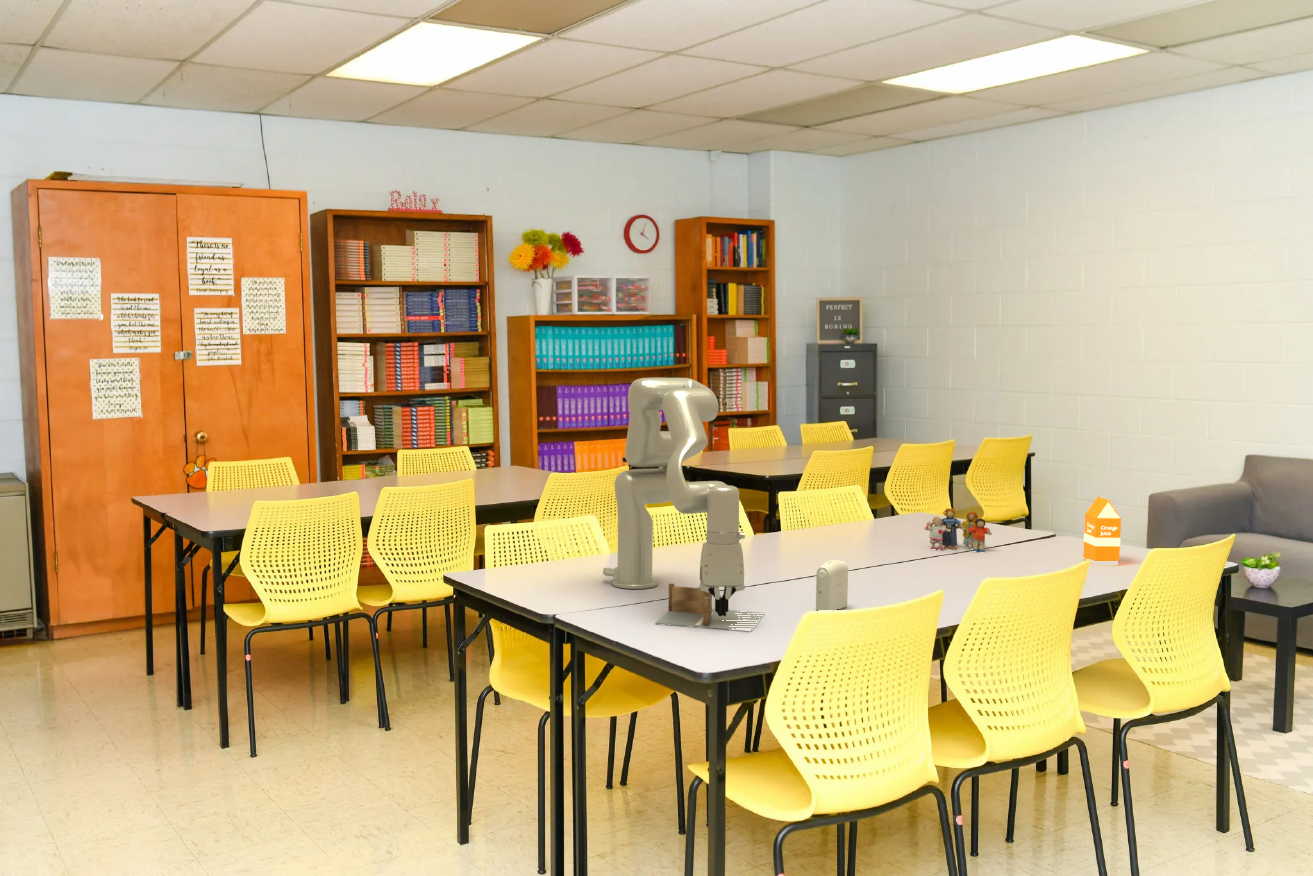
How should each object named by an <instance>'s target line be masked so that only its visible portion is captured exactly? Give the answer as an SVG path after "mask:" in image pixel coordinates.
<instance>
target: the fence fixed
mask: <svg viewBox="0 0 1313 876" xmlns="http://www.w3.org/2000/svg"><path fill="white" fill-rule="evenodd" d="M705 593H706V592H705V591H701V590H700V589H699V587H692V586H691V587H689V586H677V585H676V586H675V583H668V605H667V609H668V610H667V612H668V611H675V612H688V613H701V614H703V604H704V597H705ZM712 609H713V595H712V594H711V614H712Z"/></svg>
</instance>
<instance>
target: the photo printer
mask: <svg viewBox="0 0 1313 876" xmlns="http://www.w3.org/2000/svg"><path fill="white" fill-rule="evenodd" d="M848 572H849V568H848V565H847V563H846V562H845V561H842V560H838V559H831V560H828V561H826V562H824V563H823V564H822V565H820V566H819V567H818V569H817V570H816V574H815V575H816V578H815V580H816V583H815V587H816V588H815V589H816V590H815V611H817V610H836V611H838V610H837V609H839V610H842V609H844V608H846V607H847V606H848V591H849V590H848V587H849V586H848V585H849V582H848V581H849V573H848Z"/></svg>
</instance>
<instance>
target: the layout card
mask: <svg viewBox="0 0 1313 876" xmlns="http://www.w3.org/2000/svg"><path fill="white" fill-rule="evenodd" d="M737 611H738V612H737ZM740 611H741V610H732V609H728V612H726V616H723V615H722V616H719V615H718V614H717V612H715V608H712V614H711V616H710V621H709V625H703V614H701V613H688V612H675V611H668V610H667V612H666V613H665V614H664V615H662V616H661V617H660V618H659V619H657V620H656V621H655V622H654V624H655V623H657V624H656V625H659V624H671V625H670V626H672V625H679V626H678V627H684V626H693V627H692V628H697V627H702V628H701V629H709V628H720V629H719V630H721V629H732V628H734V629H736V628H753V627H729V626H755V625H735V624H757V623H737V622H756V621H726V620H739V619H740V620H743V619H746V620H747V619H748V620H759V619H761V617H762V616H756V615H764V614H751V613H762V612H759V611H747V612H740ZM735 613H742V614H735ZM747 613H750V614H747ZM737 615H751V616H737ZM753 615H755V616H753ZM764 616H765V615H764ZM738 617H740V618H738ZM742 617H751V618H742ZM755 617H756V618H755ZM758 617H760V618H758ZM762 618H763V617H762ZM722 620H724V621H722ZM761 620H762V619H761ZM757 622H758V621H757ZM731 624H733V625H731ZM757 625H758V624H757ZM755 627H756V626H755Z"/></svg>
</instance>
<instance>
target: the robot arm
mask: <svg viewBox="0 0 1313 876" xmlns="http://www.w3.org/2000/svg"><path fill="white" fill-rule="evenodd" d="M627 402H628V409H629V421H628V427H627V435H626V441H625V448H624V449H625V451H624V455H625V457H624V459H625V461H626V463H627V464H628V465H629V466H631V467H634V468H636V469H628V470H623V471H621V472H620V473H619V474H618V475H617V476H616V477H615V480H614V483H613V484H614V493H615V499H616V507H617V566H616V567H614V568H611V567H604V568H603V570H602V574H603V575H604V576H605V577H611V576H612V577H613V578H612V580H611V585H612V586H614V587H616V588H620V589H627V590H628V589H629V590H641V589H642V590H644V589H650V588H655V587H656V586H658V585H659V581H658V579H657V578H655V577H653V551H654V550H653V548H654V547H653V546H654V545H653V538H654V531H653V530H654V524H653V517H652V516H651V514H650V513H649V511H648V510H647V508H646V506H645V505H651V504H663V503H665V504H666V503H669V502H672V504H673V507H674V508H675V509H676V511H677V512H679V513H681V514H686V515H687V514H689V515H690V514H703V513H704V514H705V513H706V542H703V543H702V547H701V553H700V554H701V555H700V563H699V581H700V583H699V587H698V588H699V589H700V590H701V591H705V592H710V593H711V594H712V597H714V598H715V599H714V609H715V612H717V614H718V615H719V616H722V615H723V616H726V612H728V610H729V600H730V598H731V597H732V596H733V595H734V594H735V593H737V592H740V591H744V590H745V563H744V553H743V552H744V551H743V548H742V543H741V542H740V540H744V539H745V536H746V533H744V532H741V531H740V530H739V529H740V527H739V526H740V518H739V517H740V491H739V489H738V487H737V486H734V485H728V484H726V483H725V482H723V481H719V480H707V481H705V480H704V481H701V480H700V481H689V482H687V481H686V479H685V476H684V473H683V462H685V461H687V460H688V459H690V458H692V457H694V456H696V455H698V454H700V453H701V452H703V451H704V450H705V449H706V447H708V443H709V439H708V437H707V434H706V431H705V430H706V429H705V428H704V427H705V426H704V424H703V423H704V422H711V421H713V420H715V419H716V418H717V416H718V414H719V401H718V398H717V396H716V394H715V393H714V392H713V390H712V389H710V388H709V387H707V386H706V385H704V384H702V383H700V382H699V381H698V380H694V379H692V378H689V377H642V378H637V379H635V380H634V381H632V382H631V384H630V386H629V388H628V394H627ZM660 411H662V412H663V415H664V418H665V421H666V425H667V429H668V430H667V431H665V430H664V431H662V430H661V426H662V416H661V413H660ZM656 467H658V468H656ZM720 587H723V594H721V592H720ZM721 595H722V596H721Z"/></svg>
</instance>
